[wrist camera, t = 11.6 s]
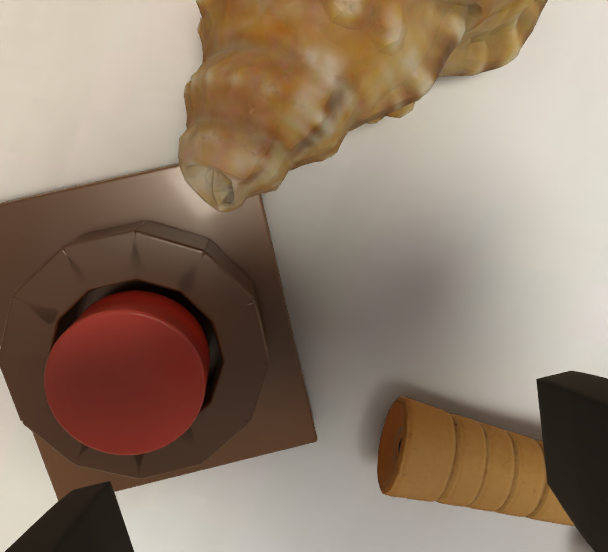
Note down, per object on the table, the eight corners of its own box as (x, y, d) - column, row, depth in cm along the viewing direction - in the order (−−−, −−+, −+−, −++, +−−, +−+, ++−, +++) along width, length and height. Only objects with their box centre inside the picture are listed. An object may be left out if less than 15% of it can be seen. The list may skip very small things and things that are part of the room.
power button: (225, 402, 15) (222, 436, 13) (91, 434, 15) (71, 472, 13) (189, 275, 14) (181, 293, 12) (47, 308, 14) (19, 330, 12)
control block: (313, 423, 18) (326, 475, 15) (71, 482, 18) (37, 548, 15) (249, 147, 16) (250, 148, 13) (-30, 209, 16) (-92, 224, 13)
